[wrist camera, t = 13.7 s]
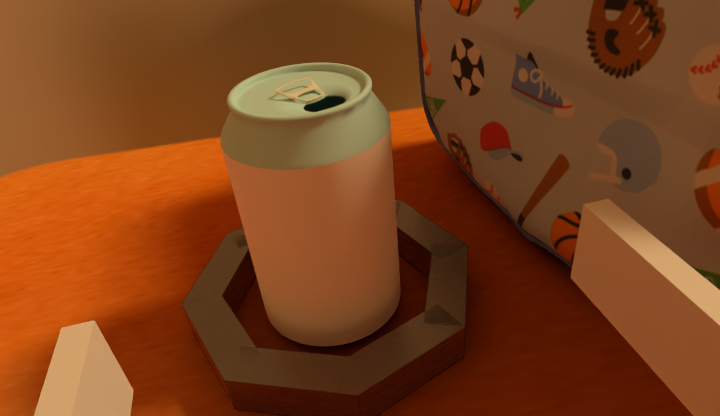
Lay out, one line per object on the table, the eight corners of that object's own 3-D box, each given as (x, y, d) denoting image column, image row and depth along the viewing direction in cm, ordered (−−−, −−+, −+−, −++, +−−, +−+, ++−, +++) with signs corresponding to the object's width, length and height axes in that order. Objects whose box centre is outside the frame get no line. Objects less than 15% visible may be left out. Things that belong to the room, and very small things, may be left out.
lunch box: (935, 345, 22) (1571, -450, 10) (780, 460, 19) (1445, -526, 6) (510, 121, 43) (537, -220, 31) (401, 156, 40) (382, -210, 27)
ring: (468, 229, 31) (469, 202, 30) (460, 437, 20) (462, 406, 19) (258, 220, 34) (251, 195, 33) (153, 399, 23) (138, 370, 22)
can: (408, 262, 29) (398, 53, 23) (391, 363, 24) (371, 124, 17) (290, 256, 31) (248, 57, 24) (248, 348, 25) (177, 124, 18)
